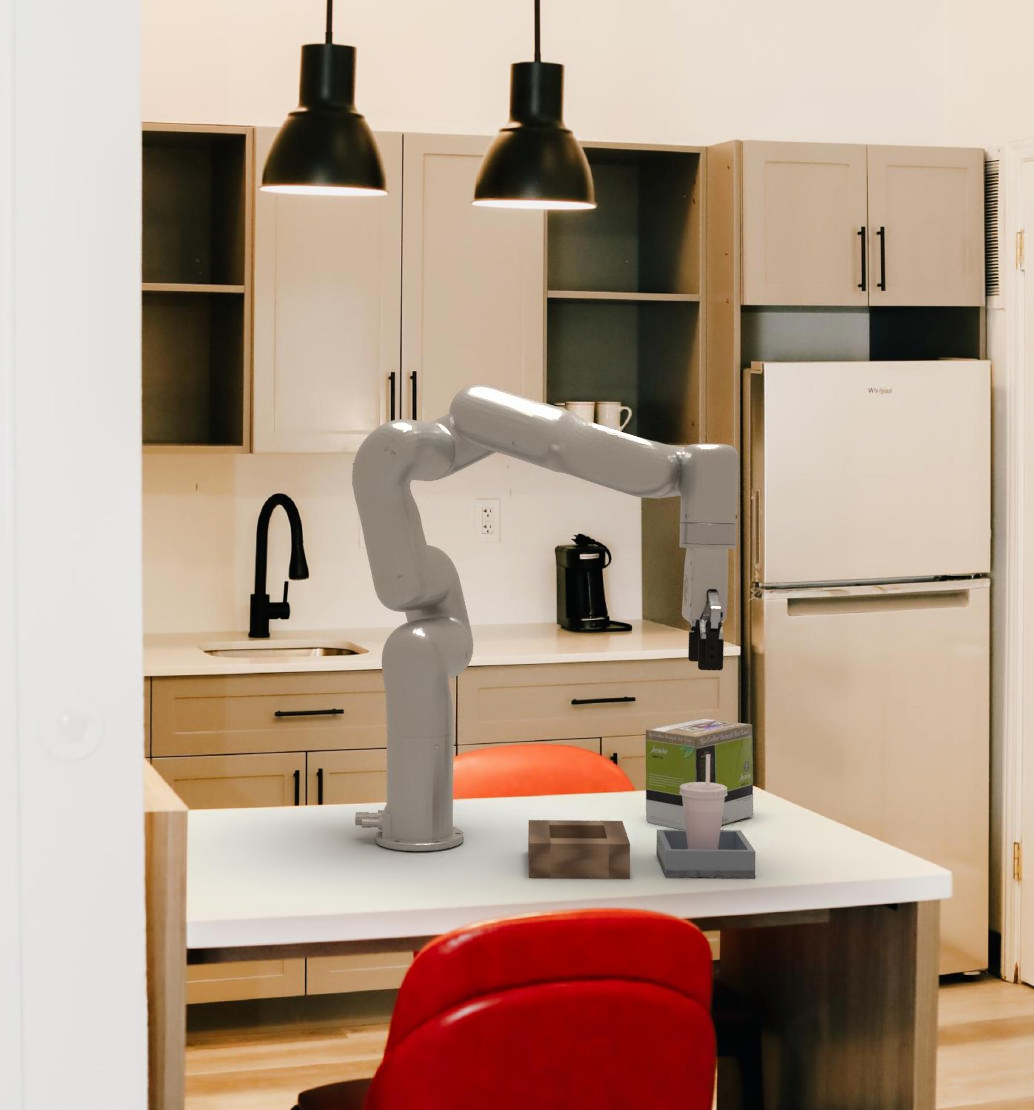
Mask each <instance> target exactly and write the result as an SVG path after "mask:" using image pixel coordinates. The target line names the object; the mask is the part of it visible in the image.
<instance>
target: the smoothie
mask: <svg viewBox="0 0 1034 1110" xmlns="http://www.w3.org/2000/svg"><path fill="white" fill-rule="evenodd" d="M679 793H680V794H681V795H682V800H683V809H684V818H685V827H686V836H687V845H688V849H703V850H718V845H719V838H720V830H722V825H721V823H722V815H723V809H724V800H725V796H727V795H728V794H727V787H726V786H724V785H722V784H717V783H710V754H706V782H691V783H685V784H682V785H681V786H680V792H679Z"/></svg>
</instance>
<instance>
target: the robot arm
mask: <svg viewBox="0 0 1034 1110" xmlns="http://www.w3.org/2000/svg"><path fill="white" fill-rule="evenodd" d="M495 453H498V454H502V455H505V456H507V457H511V458H514V459H518V460H521V461H523V462H526V463H528V464H532V465H534V466H538V467H540V468H544V469H545V470H549V471H553V472H555V473H562V474H566V475H569V476H572V477H575V478H577V479H581V480H584V481H586V482H590V483H593V484H595V485H599V486H602V487H605V488H608V489H611V490H614V491H616V492H620V493H623V494H626V495H629V496H631V497H632V496H633V497H635V498H647V499H665V498H672V497H673V498H674V497H680V513H679V514H680V515H679V516H680V517H679V519H680V520H679V522H680V523H679V544H678V545H679V546H678V547H679V548H683V549H686V550H685V551H686V552H685V557H684V568H683V569H684V571H683V587H682V589H683V590H682V605H681V606H682V607H681V617H683V618H684V620H685V621H687V622H689V631H688V654H687V655H688V661H690V662H697V669H699V670H700V671H723V669H724V644H725V643H724V642H725V640H724V629H723V624H724V623H725V621H727V613H728V603H729V602H728V601H729V600H728V598H729V596H728V595H729V550H733V549H734V550H735V549H737V543H738V542H737V537H738V536H737V535H738V499H739V497H738V494H739V493H738V491H739V453H738V450H737V449H736V448H735V447H734V446H732V445H730V444H726V443H725V444H724V443H694V444H693V443H692V444H690V445H686V446H677V445H672V444H665V443H663V442H659V441H655V440H650V439H646V438H643V437H638V436H635V435H633V434H629V433H627V432H622V431H620V430H617V429H613V428H611V427H607V426H605V425H600V424H598V423H595V422H592V421H589V420H587V419H585V418H583V417H580V416H579V415H577V414H576V413H575V412H573V411H570V410H568V409H566V408H563V407H560V406H559V407H558V406H555V405H552V404H550V403H545V402H542V401H539V400H536V399H533V398H530V397H527V396H523V395H520V394H517V393H514V392H510V391H508V390H505V389H501V388H499V387H496V386H492V385H488V384H483V383H482V384H481V383H480V384H479V383H476V384H470V385H467V386H465V387H464V388H462V389H460V390H459V391H458V392H457V393H456V394H455V395H454V397H453V399H452V400H451V403H450V406H449V409H448V413H447V414H444V415H443V416H441V417H439V418H437V419H435V420H432V421H431V422H425V421H421V420H415V419H404V418H403V419H393V420H390V421H388V422H385V423H383V424H381V425H379V426H378V427H377V428H375V429H374V430H372V432H371V433H369V434H368V435H367V437H366V438H365V439H364V440H363V442H362V443H361V445H360V447H359V448H358V450H357V452H356V455H355V457H354V461H353V465H352V472H351V478H352V479H351V481H352V490H353V495H354V500H355V503H356V509H357V512H358V516H359V521H360V525H361V528H362V529H361V530H362V535H363V541H364V545H365V549H366V554H367V558H368V559H367V560H368V563H369V567H370V573H371V578H372V582H373V587H374V591H375V593H376V594H375V595H376V597H377V599H378V600H379V601H380V603H381V604H382V606H384V607H386V608H387V609H389V610H391V611H393V612H396V613H397V612H398V613H399V612H402V613H405V617H406V621H407V622H405V623H403V624H401V625H399V626H398V627H397V628H395V629H394V630H393V631H392V632H391V633H389V635H388V638H387V639H386V641H385V643H384V646H383V648H382V654H381V673H382V678H383V685H384V693H385V694H384V695H385V706H386V708H385V710H386V714H385V715H386V717H385V718H386V728H385V731H386V802H385V803H386V804H385V806H384V809H382V810H381V809H379V810H377V812H369V811H355V816H354V818H355V819H354V823H355V826H361V828H363V829H365V828H369V829H371V828H378V830H377V831H375V834H374V841H375V843H376V844H377V845H379V846H381V847H383V848H386V849H391V850H397V851H405V852H429V851H440V850H447V849H450V848H455V847H457V846H459V845H460V844H462V843H463V842H464V837H465V836H464V832H463V831H462V830H461V829H460V828H458V827H455V826H454V708H453V698H452V694H451V688H450V680H451V679H453V678H455V677H457V676H459V675H461V674H462V673H463V672H464V671H465V670H466V669H467V668H468V667H469V665H470V662H471V661H472V658H473V653H474V639H473V634H472V627H471V624H470V620H469V615H468V611H467V605H466V601H465V597H464V592H463V588H462V584H461V580H460V576H459V573H458V570H457V567H456V565H455V564H454V561H453V560H452V559H451V558H450V556H449V555H448V554H447V553H446V552H445V551H443V550H442V549H440V548H439V547H436V546H433V545H430V544H428V543H427V540H426V536H425V531H424V528H423V525H422V518H421V513H420V511H419V507H418V505H417V502H416V500H415V498H414V496H413V493H412V490H411V483H412V481H419V482H420V481H423V482H433V481H439V480H442V479H444V478H447V477H449V476H451V475H454V474H455V473H458V472H459V471H462V470H464V469H466V468H468V467H470V466H472V465H473V464H476V463H477V462H480V461H482V460H484V459H486V458H488V457H489V456H492V455H493V454H495Z"/></svg>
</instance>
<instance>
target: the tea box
mask: <svg viewBox="0 0 1034 1110" xmlns="http://www.w3.org/2000/svg"><path fill="white" fill-rule="evenodd" d="M753 749H754V747H753V724H751V723H742V722H734V721H727V720H721V719H711V718H710V719H708V718H704V717H701V718H695V719H692V720H686V721H682V722H676V723H671V724H667V725H661V726H656V727H651V728H647V729H646V728H645V818H646V819H645V820H646V822H647V824H653V825H656V826H657V825H658V826H661V827H667V828H671V829H675V830H686V827H685V818H684V809H683V800H682V795H681V794H680V793H679V792H680V786H681V785H682V784H685V783H691V782H706V754H710V783H717V784H722V785H724V786H726V787H727V794H728V795H727V796H725V800H724V809H723V815H722V823H721V826H722V825H725V824H729V823H733V822H735V821H739V820H742V819H746V818H750V817H753V816H754V793H753V792H754V773H753V772H754V766H753V765H754V760H753V758H754V756H753V753H754V752H753Z"/></svg>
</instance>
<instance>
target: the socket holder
mask: <svg viewBox="0 0 1034 1110" xmlns="http://www.w3.org/2000/svg"><path fill="white" fill-rule="evenodd" d="M527 827H528V830H527V831H528V835H527V837H528V838H527V839H528V840H527V841H528V844H527V846H528V848H527V854H528V856H527V857H528V859H527V860H528V878H529V879H532V878H533V879H610V880H611V879H612V880H614V879H624V880H625V879H627V880H628V879H631V875H630V873H631V843H630V840H629V836H628V832H627V831H626V830H627V829H626V827H625V825H624V822H623V820H583V819H582V820H574V819H573V820H568V819H566V820H565V819H564V820H563V819H562V820H561V819H560V820H557V819H554V820H553V819H528V826H527Z"/></svg>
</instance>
